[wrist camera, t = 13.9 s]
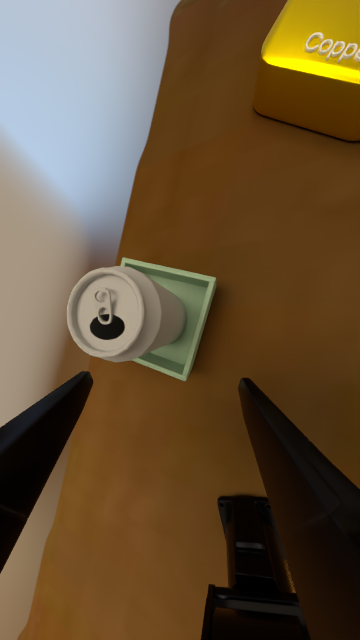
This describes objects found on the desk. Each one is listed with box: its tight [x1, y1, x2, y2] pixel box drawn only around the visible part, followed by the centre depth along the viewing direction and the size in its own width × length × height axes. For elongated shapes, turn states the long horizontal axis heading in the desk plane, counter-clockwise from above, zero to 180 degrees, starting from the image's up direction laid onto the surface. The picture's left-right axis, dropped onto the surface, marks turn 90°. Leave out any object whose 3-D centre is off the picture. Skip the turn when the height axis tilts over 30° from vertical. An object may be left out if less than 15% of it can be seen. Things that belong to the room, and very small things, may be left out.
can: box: [67, 266, 187, 362], centre depth 16 cm, size 8×8×12 cm
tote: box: [121, 258, 216, 381], centre depth 20 cm, size 12×12×4 cm
